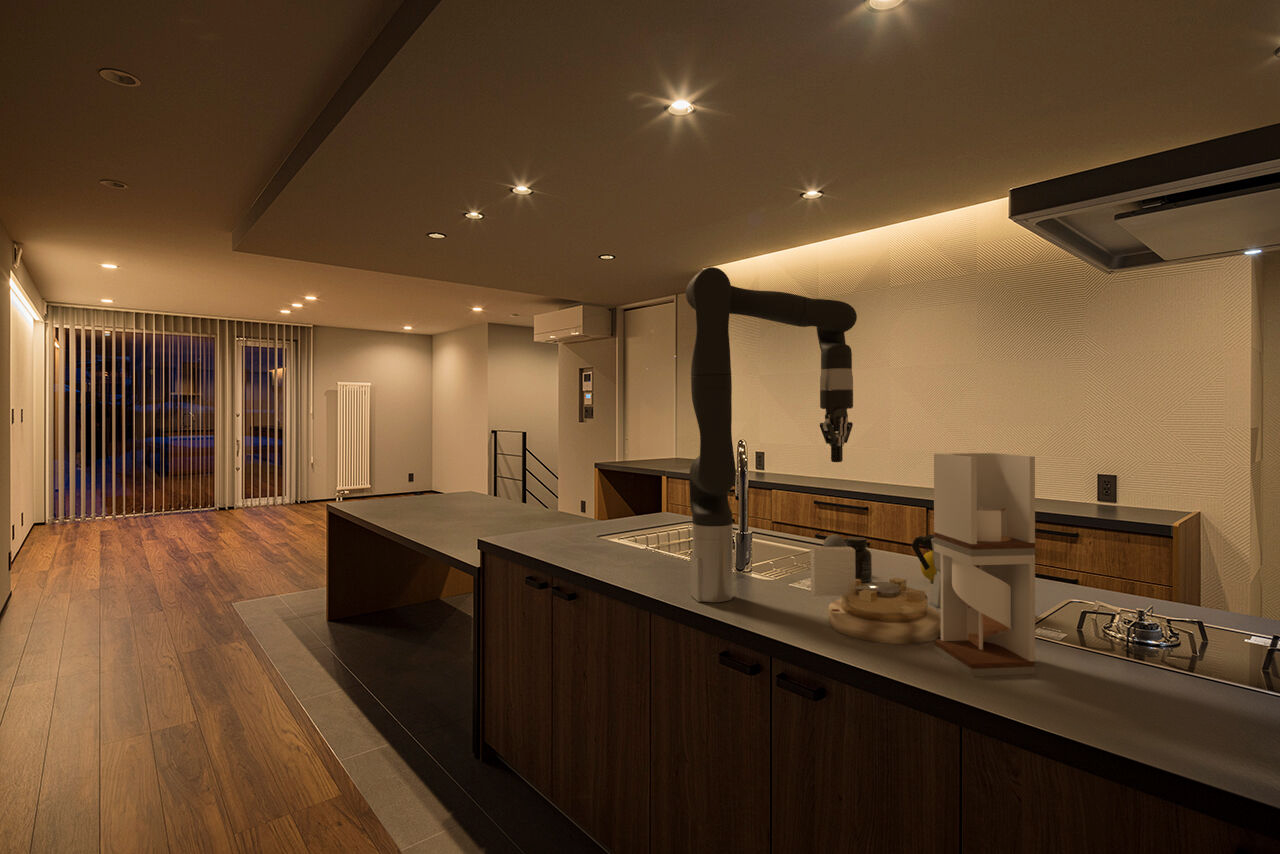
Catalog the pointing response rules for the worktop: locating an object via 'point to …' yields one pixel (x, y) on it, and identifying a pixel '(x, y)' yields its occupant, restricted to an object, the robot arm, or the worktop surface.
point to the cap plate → (885, 627)
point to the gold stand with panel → (863, 588)
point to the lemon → (930, 571)
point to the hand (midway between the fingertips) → (836, 461)
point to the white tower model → (986, 561)
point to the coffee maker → (929, 544)
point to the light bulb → (834, 541)
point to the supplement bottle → (861, 558)
